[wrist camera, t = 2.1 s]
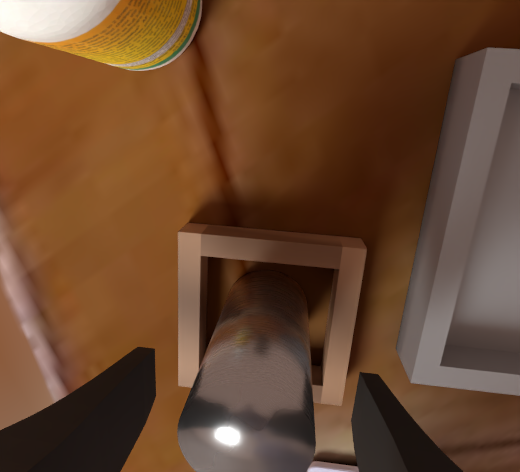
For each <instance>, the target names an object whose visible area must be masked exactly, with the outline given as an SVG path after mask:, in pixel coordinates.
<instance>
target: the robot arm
mask: <svg viewBox="0 0 520 472" xmlns="http://www.w3.org/2000/svg"><path fill="white" fill-rule="evenodd" d="M155 397H156V381H155V349H152V348H143V347H137V348H136V349H134V350H133V351H131V352H130V353H129V354H127V355H126V356H124V357H123V358H122V359H120V360H119V361H118V362H116V363H115V364H113V365H112V366H111V367H109V368H108V369H106V370H105V371H104V372H102V373H101V374H99V375H98V376H96V377H95V378H94V379H92V380H91V381H89V382H88V383H86V384H84V385H83V386H81V387H80V388H78V389H77V390H75V391H74V392H72V393H70V394H69V395H67V396H66V397H64V398H62V399H61V400H59V401H57V402H56V403H54V404H52V405H50V406H49V407H47V408H45V409H43V410H41V411H39V412H37V413H36V414H34V415H32V416H30V417H28V418H26V419H24V420H21V421H19V422H17V423H15V424H13V425H11V426H9V427H6V428H4V429H2V430H0V472H120V471H121V469H122V467H123V466H124V464H125V462H126V460H127V458H128V456H129V454H130V452H131V450H132V449H133V447H134V445H135V443H136V441H137V439H138V437H139V435H140V433H141V431H142V429H143V427H144V425H145V423H146V421H147V418H148V416H149V413H150V411H151V408H152V405H153V403H154V400H155ZM351 422H352V432H353V442H354V450H355V455H356V460H357V465H358V467H357V466H350V465H342V464H335V463H327V462H320V461H314V462H312V463H311V465H310V466H309V468H308V470H307V472H463V471H462V470H461V469H460V468H459V467H458V466H457V465H456V464H455V463H454V462H452V461H451V460H450V459H449V458H448V457H447V456H446V455H445V454H444V453H443V452H442V451H441V450H440V449H439V448H438V447H437V446H436V444H435V443H434V442H433V441H432V440H431V439H430V438H429V437H428V436H427V435H426V434H425V432H424V431H423V430H422V429H421V428H420V427H419V426H418V424H417V423H416V422H415V421H414V420H413V418H412V417H411V416H410V415H409V414H408V412H407V411H406V410H405V409H404V407H403V406H402V405H401V404H400V402H399V401H398V400H397V398H396V397H395V396H394V394H393V393H392V392H391V391H390V389H389V388H388V387H387V385H386V384H385V383H384V381H383V380H382V379H381V377H380V376H379V375H378V374H371V373H362V372H360V374H359V380H358V385H357V391H356V397H355V402H354V408H353V414H352V419H351Z"/></svg>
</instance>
